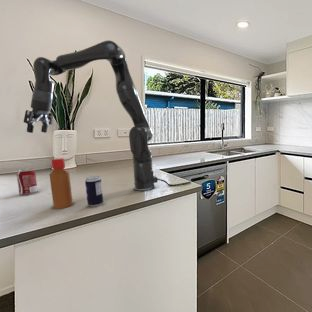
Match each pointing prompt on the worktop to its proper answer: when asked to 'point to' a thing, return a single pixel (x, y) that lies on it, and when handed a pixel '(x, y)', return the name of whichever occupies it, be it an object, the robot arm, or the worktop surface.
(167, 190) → the worktop surface
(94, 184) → the beverage can
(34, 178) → the red food package
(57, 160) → the cap
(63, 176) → the sauce bottle
